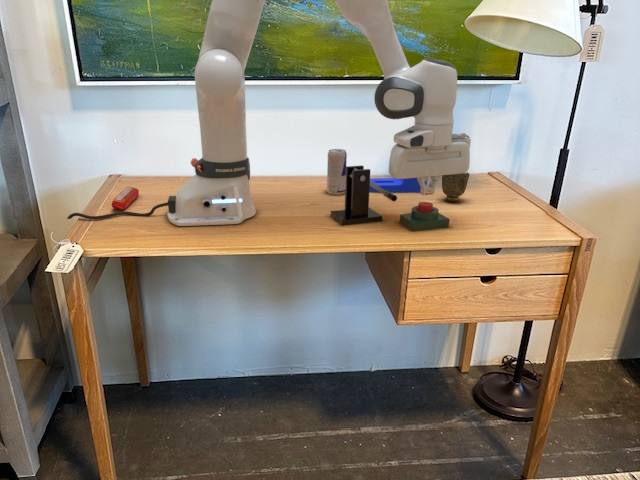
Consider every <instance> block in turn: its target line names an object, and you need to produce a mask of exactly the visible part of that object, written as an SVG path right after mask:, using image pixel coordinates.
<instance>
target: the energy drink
mask: <svg viewBox="0 0 640 480" xmlns="http://www.w3.org/2000/svg"><path fill="white" fill-rule="evenodd" d="M347 155H348V153H347V150H345V149H343V148H331V149H328V152H327V167H326V168H327V169H326V171H327V173H326V174H327V175H326V192H327V194H329V195H333V196H341V195H345V186H346V167H347Z"/></svg>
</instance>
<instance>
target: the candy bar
mask: <svg viewBox="0 0 640 480" xmlns="http://www.w3.org/2000/svg"><path fill="white" fill-rule="evenodd" d="M139 191H140V190H139V189H138V188H136V187H133V186H126V188H124V189H123V190H122V191H121V192H120V193H119V194H117V195H116V196H115V197H114V198H113V199H112V201H111V207H112V208H113V209H117V210H120V211H125V210H126V209H127V208H128V207H129V206H130V205H131V204H132V203H133V202H134V201H135V200H136V199H138V197H139V194H140V192H139Z"/></svg>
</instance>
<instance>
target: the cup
mask: <svg viewBox="0 0 640 480" xmlns="http://www.w3.org/2000/svg"><path fill="white" fill-rule="evenodd" d="M469 178H470V173H469V172H468V171H467V172H466V173H463V174H452V175H441V189H442V192H443V194H444V195H445V200H446V201H447V202H449V203H458V202H459V200H460V197H461V196H463V195H464V193H465V192H466V189H467V186H468V183H469Z"/></svg>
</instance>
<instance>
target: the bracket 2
mask: <svg viewBox="0 0 640 480" xmlns="http://www.w3.org/2000/svg"><path fill="white" fill-rule="evenodd" d="M370 181H371V182H373V183H374V184H376V185H377V186H379V187H381V188H382V189H384V190H385V191H389V192H390V193H420V190H421V186H420V185H419V183H418V180H417V178H408V179H395V178H393V177H382V178H381V177H380V178H379V177H374V178H373V177H372V178H370ZM424 182H425V185H426V186H428V179H427V180H426V181H424ZM369 193H379V194H382V193H381V192H379V191H378V190H376V189H374V188H373V187H371V186H370V189H369Z"/></svg>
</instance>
